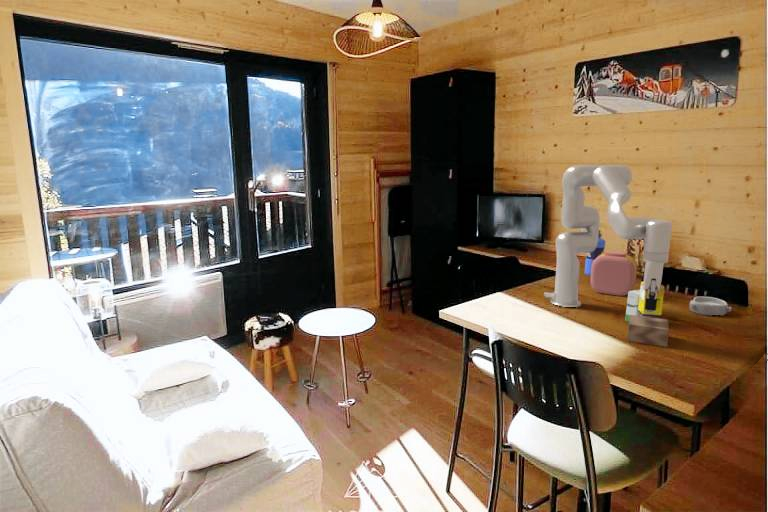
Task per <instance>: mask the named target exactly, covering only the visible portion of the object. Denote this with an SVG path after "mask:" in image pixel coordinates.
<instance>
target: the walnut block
mask: <svg viewBox="0 0 768 512" xmlns="http://www.w3.org/2000/svg"><path fill="white" fill-rule="evenodd" d="M627 328H628V329H627V339H626V341H627V342H632V343H639V344H644V345H645V344H647V345H654V346H659V347H665V348H668V342H669V334H670V328H669V321H668V319H666V318H660V317H643V316H635V315H630V316H629V322H628V327H627Z"/></svg>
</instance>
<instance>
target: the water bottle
mask: <svg viewBox="0 0 768 512" xmlns="http://www.w3.org/2000/svg"><path fill="white" fill-rule="evenodd" d="M601 232H602V231H601V229H599V234H598V243H597V247H596V249H595V250H594V251H593V252H591V253H586V256H585V263H584V275H585V276H590V277H591V267H592V263H593V261H594V260H595V259H596V258H597V257H598V256H599V255H601V254H603V253H605V252H604V251H605V247H606V240H605V239H604V238H602V233H601Z"/></svg>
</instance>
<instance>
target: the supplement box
mask: <svg viewBox="0 0 768 512" xmlns="http://www.w3.org/2000/svg"><path fill="white" fill-rule="evenodd" d="M649 289H651V287H650V286H649ZM657 289H658V287H657ZM639 290H640V295H639V305H638V312H639V313H640V314H641V315H642V316H650V317H651V318H661V317H662V313H663V303H664V295H665V286H664V285H663V284H661V285H660V290H659V291H657V298H656V299H657V304H656V310H655V311H653V310H646V309H645V305H646V298H647V294H648V289H645V290H644V289H643V281H640V287H639ZM655 290H656V289H655ZM649 293H650V292H649Z"/></svg>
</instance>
